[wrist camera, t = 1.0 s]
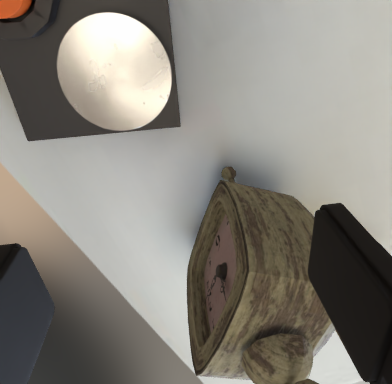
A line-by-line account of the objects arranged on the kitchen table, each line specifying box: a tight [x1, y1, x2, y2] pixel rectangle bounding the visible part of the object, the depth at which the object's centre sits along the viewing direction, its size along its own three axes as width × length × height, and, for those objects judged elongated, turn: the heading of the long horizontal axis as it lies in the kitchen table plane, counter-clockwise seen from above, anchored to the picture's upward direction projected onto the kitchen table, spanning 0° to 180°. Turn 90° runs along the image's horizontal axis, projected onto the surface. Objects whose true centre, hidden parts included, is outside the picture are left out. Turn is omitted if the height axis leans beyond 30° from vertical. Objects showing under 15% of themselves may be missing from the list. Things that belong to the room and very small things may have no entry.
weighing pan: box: [57, 12, 172, 131], centre depth 26 cm, size 9×9×1 cm
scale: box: [0, 0, 181, 141], centre depth 26 cm, size 16×16×3 cm
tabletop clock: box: [187, 167, 336, 384], centre depth 27 cm, size 14×9×25 cm, turn 164°
